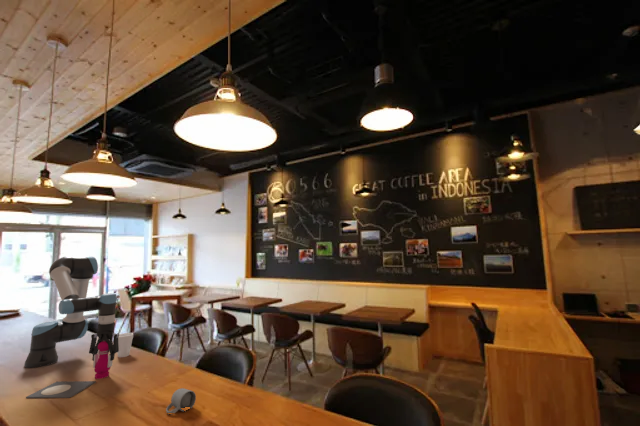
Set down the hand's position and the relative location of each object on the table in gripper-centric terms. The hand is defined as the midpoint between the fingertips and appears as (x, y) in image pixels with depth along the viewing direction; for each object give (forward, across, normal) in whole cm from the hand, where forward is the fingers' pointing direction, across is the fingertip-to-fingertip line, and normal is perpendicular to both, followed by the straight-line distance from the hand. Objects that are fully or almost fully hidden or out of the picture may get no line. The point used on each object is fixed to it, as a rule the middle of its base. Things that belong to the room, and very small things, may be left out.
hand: (102, 366), depth 167 cm
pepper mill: (+5, 0, 0) cm, 5 cm away
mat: (+5, -8, -16) cm, 19 cm away
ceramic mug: (+5, +57, -36) cm, 68 cm away
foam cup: (+5, -9, +34) cm, 36 cm away
